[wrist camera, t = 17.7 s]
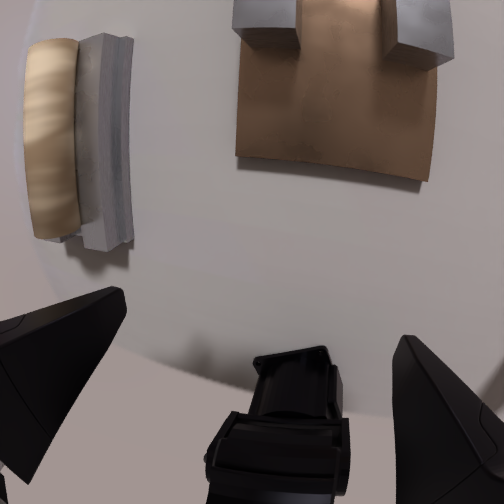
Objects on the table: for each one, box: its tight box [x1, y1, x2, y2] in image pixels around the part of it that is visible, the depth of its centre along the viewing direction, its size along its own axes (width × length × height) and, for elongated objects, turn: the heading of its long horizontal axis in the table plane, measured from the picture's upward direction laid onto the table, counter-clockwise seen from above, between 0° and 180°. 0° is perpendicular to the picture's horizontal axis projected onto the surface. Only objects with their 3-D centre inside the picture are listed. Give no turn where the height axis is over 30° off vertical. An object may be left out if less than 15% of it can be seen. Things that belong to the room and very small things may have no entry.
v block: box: [44, 33, 134, 252], centre depth 19 cm, size 16×9×3 cm, turn 177°
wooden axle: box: [23, 38, 81, 239], centre depth 16 cm, size 14×4×4 cm, turn 177°
